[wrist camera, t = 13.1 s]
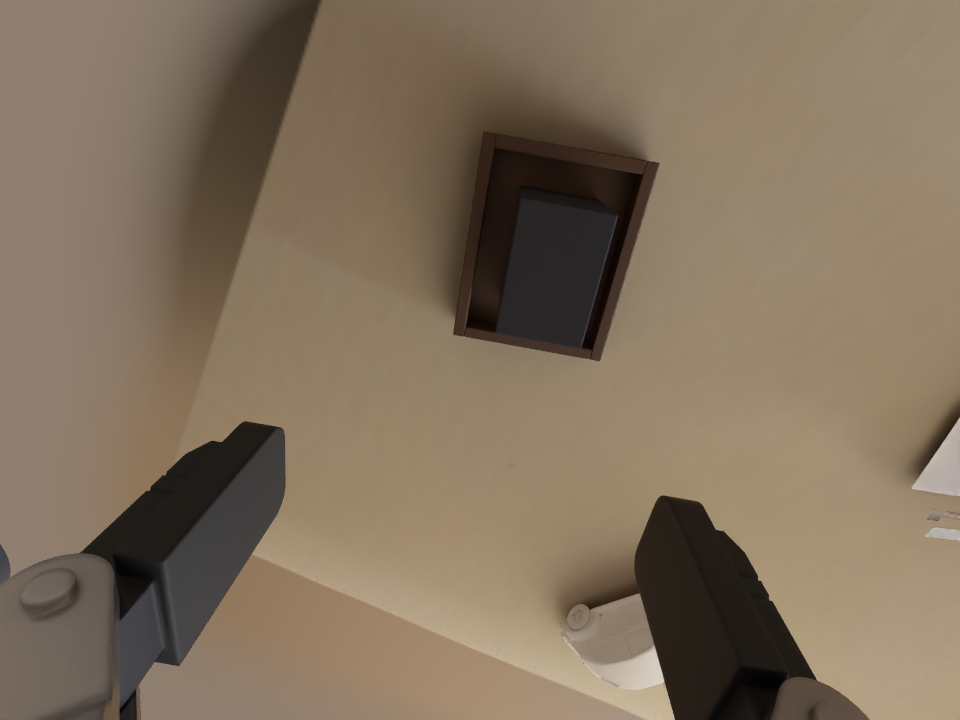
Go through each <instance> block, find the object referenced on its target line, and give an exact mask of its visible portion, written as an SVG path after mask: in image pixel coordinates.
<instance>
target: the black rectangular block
mask: <svg viewBox="0 0 960 720" xmlns="http://www.w3.org/2000/svg"><path fill="white" fill-rule="evenodd" d="M617 218H618V214H616V213H615V212H614V211H612V210H611V209H610V208H609V207H607V206H606V205H605V204H603V203H602V202H601V201H600V200H598V199H595V198H589V197H584V196H578V195H573V194H567V193H562V192H556V191H550V190H545V189H539V188H534V187H528V186H521V187H520V192H519V198H518V203H517V208H516V214H515V219H514V224H513V230H512V235H511V240H510V246H509V251H508V256H507V262H506V267H505V272H504V278H503V283H502V288H501V294H500V300H499V307H498V314H497V321H496V328H495V333H497V334H503V335H508V336H514V337H519V338H525V339H530V340H536V341H541V342H547V343H552V344H558V345H563V346H569V347H574V348H581V347H582V344H583V340H584V337H585V333H586V330H587V326H588V322H589V319H590V315H591V312H592V308H593V304H594V301H595V297H596V294H597V290H598V286H599V283H600V279H601V276H602V272H603V268H604V265H605V261H606V258H607V254H608V250H609V247H610V243H611V240H612V236H613V232H614V229H615V225H616V222H617Z"/></svg>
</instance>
